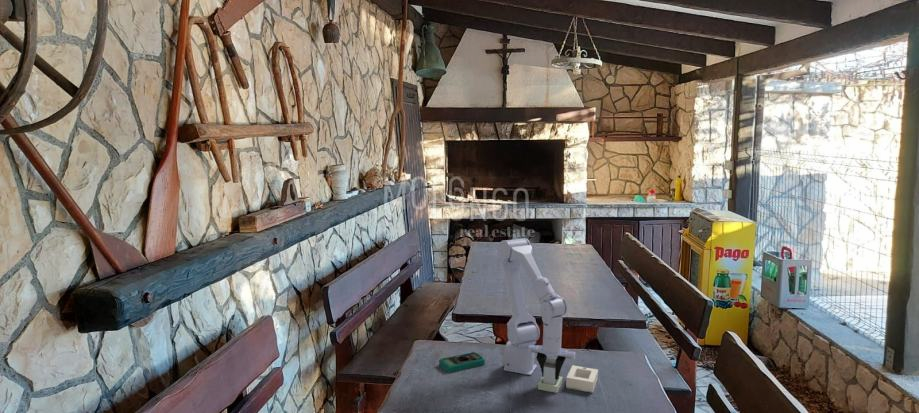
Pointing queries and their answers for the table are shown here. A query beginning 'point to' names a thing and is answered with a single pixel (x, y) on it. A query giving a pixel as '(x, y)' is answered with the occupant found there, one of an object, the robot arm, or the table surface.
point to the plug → (550, 372)
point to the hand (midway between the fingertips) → (550, 377)
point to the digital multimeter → (461, 362)
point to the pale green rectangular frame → (550, 387)
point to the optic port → (582, 379)
